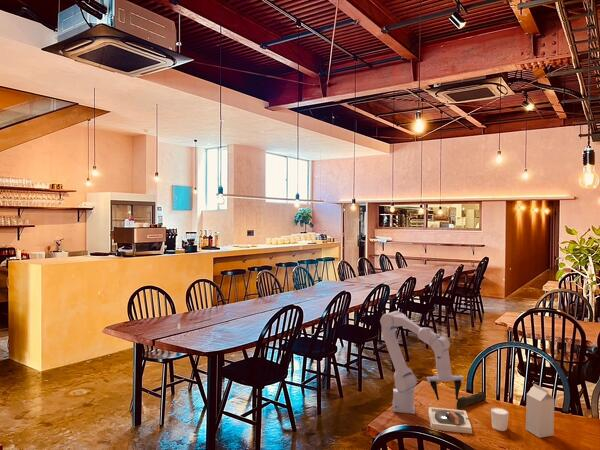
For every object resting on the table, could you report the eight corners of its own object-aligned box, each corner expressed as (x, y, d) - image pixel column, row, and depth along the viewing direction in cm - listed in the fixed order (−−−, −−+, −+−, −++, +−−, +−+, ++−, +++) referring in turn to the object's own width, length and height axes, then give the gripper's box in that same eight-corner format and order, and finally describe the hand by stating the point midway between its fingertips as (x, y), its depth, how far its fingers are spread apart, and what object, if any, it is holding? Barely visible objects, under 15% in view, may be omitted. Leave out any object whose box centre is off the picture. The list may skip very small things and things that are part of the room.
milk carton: (539, 438, 175) (540, 391, 174) (525, 429, 182) (526, 384, 181) (553, 435, 177) (555, 389, 176) (539, 427, 184) (540, 382, 183)
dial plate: (431, 429, 182) (431, 423, 181) (428, 411, 197) (428, 406, 197) (472, 433, 178) (472, 427, 178) (466, 415, 194) (466, 410, 194)
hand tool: (479, 398, 212) (479, 389, 212) (486, 401, 208) (486, 392, 208) (451, 407, 202) (451, 397, 202) (458, 410, 199) (459, 400, 199)
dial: (429, 412, 193) (430, 404, 193) (455, 411, 194) (455, 402, 194) (442, 426, 180) (443, 417, 180) (470, 425, 182) (470, 416, 182)
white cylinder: (509, 426, 185) (509, 409, 184) (507, 433, 179) (508, 416, 178) (491, 421, 188) (491, 405, 188) (489, 428, 182) (489, 412, 182)
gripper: (426, 369, 183) (430, 402, 182) (462, 368, 180) (466, 402, 179) (425, 365, 190) (429, 397, 189) (460, 363, 187) (464, 396, 186)
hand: (447, 399), depth 184 cm, fingers open, 7 cm apart
